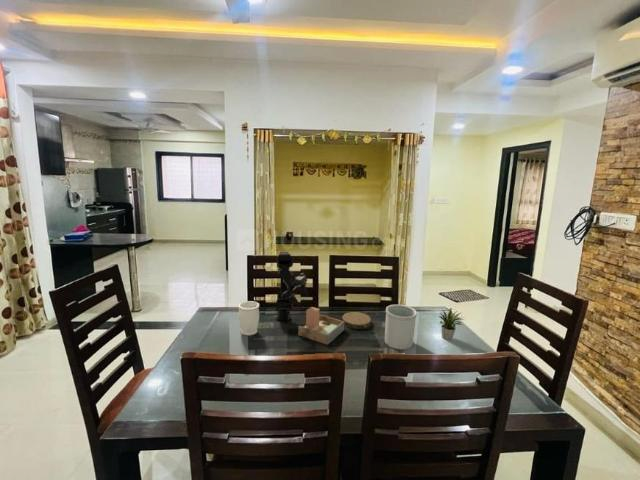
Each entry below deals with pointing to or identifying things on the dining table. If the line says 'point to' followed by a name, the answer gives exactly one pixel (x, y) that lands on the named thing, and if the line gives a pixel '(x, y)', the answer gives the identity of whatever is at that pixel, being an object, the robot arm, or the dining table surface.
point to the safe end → (330, 332)
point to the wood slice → (356, 320)
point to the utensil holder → (399, 326)
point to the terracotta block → (312, 317)
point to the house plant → (449, 324)
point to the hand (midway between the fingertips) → (303, 301)
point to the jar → (248, 317)
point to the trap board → (311, 332)
